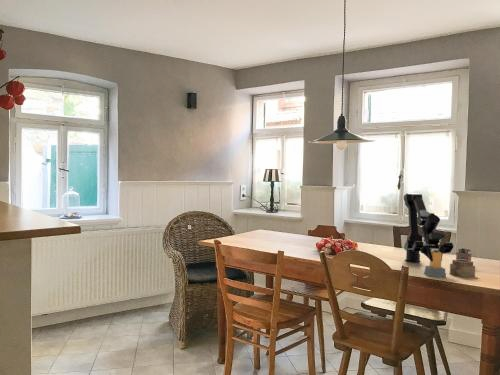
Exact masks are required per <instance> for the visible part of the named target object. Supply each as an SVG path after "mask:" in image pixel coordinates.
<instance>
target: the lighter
mask: <svg viewBox="0 0 500 375" xmlns="http://www.w3.org/2000/svg"><path fill="white" fill-rule="evenodd" d="M470 252H471V248H465V247H462V248H460V247H458V251H455V254H456V255H455V260H458V259H463V260H468V261H472V256H473V254H472V253H470Z"/></svg>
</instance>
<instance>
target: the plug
mask: <svg viewBox="0 0 500 375" xmlns="http://www.w3.org/2000/svg"><path fill="white" fill-rule="evenodd" d="M430 252H431V255H432V258H433V261H431V260H430V259H429V266H430V267H431V268H440V269H441V267H442V261H441V259H442V260H443V255H442V253H441V252H438V249H433V251H432V250H430Z"/></svg>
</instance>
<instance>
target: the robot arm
mask: <svg viewBox="0 0 500 375" xmlns="http://www.w3.org/2000/svg"><path fill="white" fill-rule="evenodd" d="M403 200H404V206H405V207H406V208H407V212H408V228H409V229H408V230H409V232H408V235H407V237H406V240H405V243H404V246H403V247H404V250H405V251H406V252H405V253H406V256H405V257H406V258H405V259H404V261H406V262H409V263H414V264H415V263H420V262H421V258H420V257H421V254H423V255H424V256H425V257H426V258H427V259H428V260H429V261H430V260H431V261H433V258H432V255H431V252H430V251H431V250H438V252H441V253H442V256H443V254H445V253H447V254H449V253H451V252H452V250H453V249H454V243H453V242H448V241H444V242H443V243H442V244H440V242H441V240H443V239H445V238H446V234H445V231H437V232H435V230H436V229H437V227H438V225H439V223H440V222H441V219H440V217H439V216H438V215H435V213H434V212H433V213H432V212H429V211H428V210H427V208H426V205H425V202H424V199H423V194H421V193H418V192H417V193H416V192H406V193H405V194H404V195H403ZM419 226H420V227H421V232H420V233H421V234H422V235H421V234H420V233H419ZM420 253H421V254H420ZM442 261H443V258H442V259H441V262H442Z"/></svg>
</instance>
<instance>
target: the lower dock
mask: <svg viewBox="0 0 500 375" xmlns="http://www.w3.org/2000/svg"><path fill="white" fill-rule="evenodd" d="M424 274H425V275H427V276H428V277H429V278H447V273H446V268H445V267H442V266H441V269H440V268H431V267H430V264H429V265H425V269H424Z"/></svg>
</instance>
